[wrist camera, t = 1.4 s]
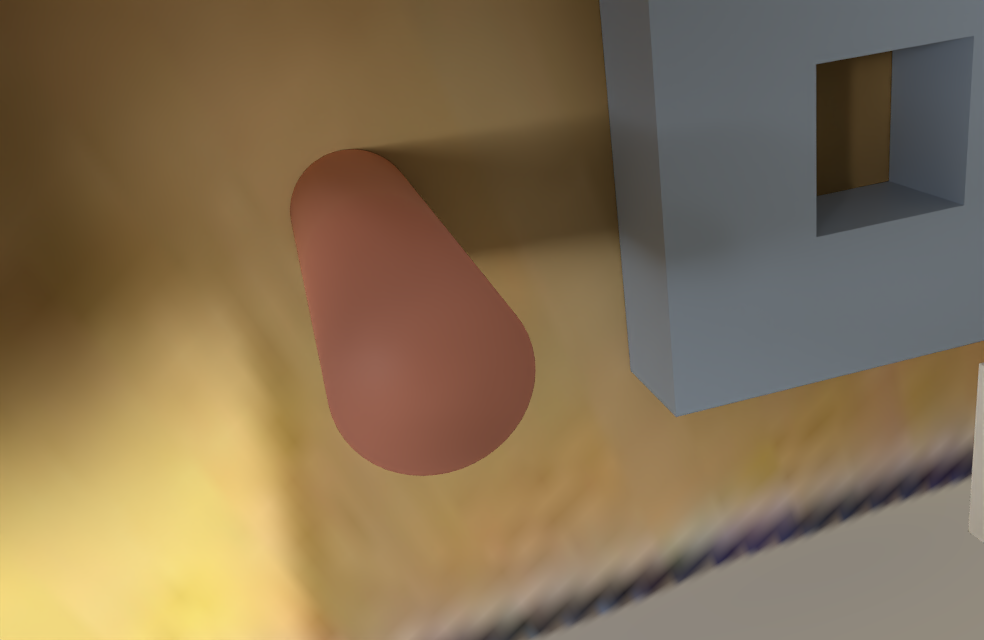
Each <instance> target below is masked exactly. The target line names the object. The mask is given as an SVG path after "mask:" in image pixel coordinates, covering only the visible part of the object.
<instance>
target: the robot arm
mask: <svg viewBox="0 0 984 640" xmlns="http://www.w3.org/2000/svg"><path fill="white" fill-rule="evenodd" d="M969 512H970V513H969V526H968V532H970V533H971V534H972V535H974V536H975V537H976V538H977V539H979V540H980V541H981V542H983V543H984V362H983V363H980V364H979V374H978V389H977V404H976V419H975V435H974V450H973V465H972V480H971V496H970V511H969Z"/></svg>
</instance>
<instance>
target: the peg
mask: <svg viewBox="0 0 984 640" xmlns="http://www.w3.org/2000/svg"><path fill="white" fill-rule="evenodd" d="M290 216H291V223H292V227H293V232H294V237H295V242H296V247H297V252H298V257H299V262H300V267H301V272H302V276H303V281H304V286H305V291H306V296H307V301H308V306H309V311H310V316H311V321H312V325H313V330H314V335H315V340H316V345H317V350H318V355H319V360H320V365H321V370H322V375H323V379H324V384H325V389H326V394H327V399H328V404H329V408H330V411H331V414H332V418H333V420H334V422H335V424H336V426H337V428H338V430H339V432H340V433H341V435H342V436H343V438H344V439H345V440H346V442H347V443H348V444H349V445H350V446H351V447H352V448H353V449H354V450H355V451H356V452H357V453H359V454H360V455H361V456H362V457H363V458H365V459H367V460H368V461H370V462H371V463H373V464H375V465H377V466H379V467H382V468H384V469H386V470H390V471H393V472H396V473H401V474H407V475H419V476H426V475H438V474H443V473H449V472H452V471H456V470H459V469H462V468H464V467H467V466H469V465H471V464H474V463H475V462H477V461H479V460H481V459H482V458H484V457H486V456H487V455H489V454H490V453H491V452H493V451H494V450H495V449H497V448H498V447H499V446H500V445H501V444H502V443H503V442H504V441H505V440H506V439H507V438H508V437H509V436H510V435H511V433H512V432H513V431H514V430H515V428H516V427H517V425H518V424H519V422H520V421H521V419H522V417H523V416H524V414H525V412H526V410H527V408H528V405H529V402H530V399H531V396H532V392H533V388H534V382H535V357H534V352H533V347H532V344H531V341H530V339H529V336H528V333H527V332H526V330H525V328H524V326H523V324H522V323H521V321H520V320H519V318H518V317H517V316H516V314H515V313H514V312H513V311H512V309H511V308H510V307H509V306H508V304H507V303H506V302H505V301H504V299H503V298H502V297H501V296H500V294H499V293H498V292H497V291H496V289H495V288H494V287H493V286H492V284H491V283H490V282H489V281H488V280H487V278H486V277H485V276H484V275H483V273H482V272H481V271H480V270H479V268H478V267H477V266H476V265H475V263H474V262H473V261H472V260H471V258H470V257H469V256H468V255H467V254H466V252H465V251H464V250H463V249H462V247H461V246H460V245H459V244H458V242H457V241H456V240H455V239H454V237H453V236H452V235H451V234H450V232H449V231H448V230H447V229H446V227H445V226H444V225H443V224H442V223H441V221H440V220H439V219H438V218H437V216H436V215H435V214H434V213H433V211H432V210H431V209H430V208H429V206H428V205H427V204H426V203H425V201H424V200H423V199H422V198H421V196H420V195H419V194H418V193H417V192H416V190H415V189H414V188H413V187H412V185H411V184H410V183H409V182H408V180H407V179H406V178H405V177H404V175H403V174H402V173H401V172H400V171H399V170H398V168H397V167H396V166H395V165H393V164H392V163H391V162H390V161H388V160H387V159H385V158H383V157H382V156H380V155H377V154H375V153H372V152H369V151H365V150H358V149H348V150H340V151H336V152H333V153H330V154H327V155H325V156H323V157H321V158H320V159H318V160H317V161H315V162H314V163H313V164H311V165H310V166H309V167H308V168H307V169H306V170H305V171H304V173H303V174H302V175H301V177H300V178H299V180H298V182H297V183H296V186H295V188H294V191H293V194H292V198H291V205H290Z"/></svg>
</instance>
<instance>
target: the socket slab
mask: <svg viewBox="0 0 984 640" xmlns="http://www.w3.org/2000/svg"><path fill="white" fill-rule="evenodd" d="M599 2H600V14H601V26H602V38H603V49H604V61H605V73H606V85H607V96H608V108H609V120H610V132H611V143H612V155H613V167H614V179H615V190H616V202H617V214H618V226H619V238H620V249H621V261H622V273H623V285H624V296H625V308H626V320H627V332H628V343H629V355H630V367H631V372H632V373H633V374H634V375H635V376H636V377H637V378H638V379H639V380H640V381H641V382H642V383H643V384H644V385H645V386H646V387H647V388H648V389H649V390H650V391H651V392H652V393H653V394H654V395H655V396H656V397H657V398H658V399H659V400H660V401H661V402H662V403H663V404H664V405H665V406H666V407H667V408H668V409H669V410H670V411H671V412H672V413H673V414H674V415H675V416H676V417H678V416H682V415H686V414H690V413H694V412H698V411H702V410H706V409H710V408H714V407H718V406H722V405H726V404H730V403H734V402H738V401H742V400H746V399H750V398H754V397H758V396H762V395H766V394H770V393H774V392H778V391H782V390H786V389H790V388H795V387H799V386H803V385H807V384H811V383H815V382H819V381H823V380H827V379H831V378H835V377H839V376H843V375H847V374H851V373H855V372H859V371H863V370H867V369H871V368H875V367H879V366H883V365H887V364H891V363H895V362H899V361H903V360H907V359H911V358H915V357H919V356H923V355H927V354H931V353H935V352H939V351H944V350H948V349H952V348H956V347H960V346H964V345H968V344H972V343H976V342H980V341H984V0H599ZM887 51H893V54H892V90H891V126H890V162H889V181H887V182H882V183H878V184H873V185H868V186H863V187H859V188H854V189H849V190H844V191H839V192H835V193H830V194H825V195H820V196H816V64H821V63H826V62H832V61H837V60H843V59H848V58H854V57H859V56H865V55H870V54H876V53H881V52H887Z"/></svg>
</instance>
